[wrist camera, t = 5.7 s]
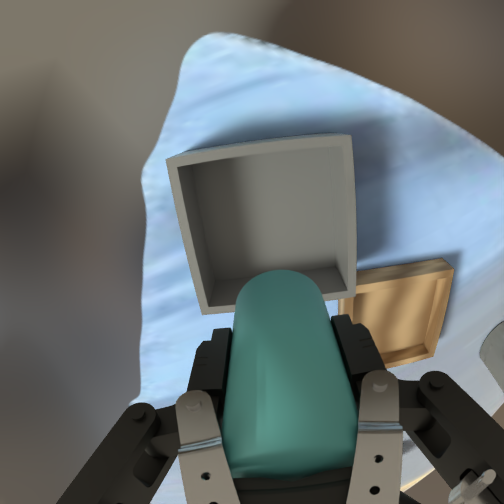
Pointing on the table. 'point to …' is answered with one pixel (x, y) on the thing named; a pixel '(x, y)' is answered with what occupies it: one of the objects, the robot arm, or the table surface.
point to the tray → (402, 308)
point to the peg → (286, 384)
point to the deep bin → (267, 214)
